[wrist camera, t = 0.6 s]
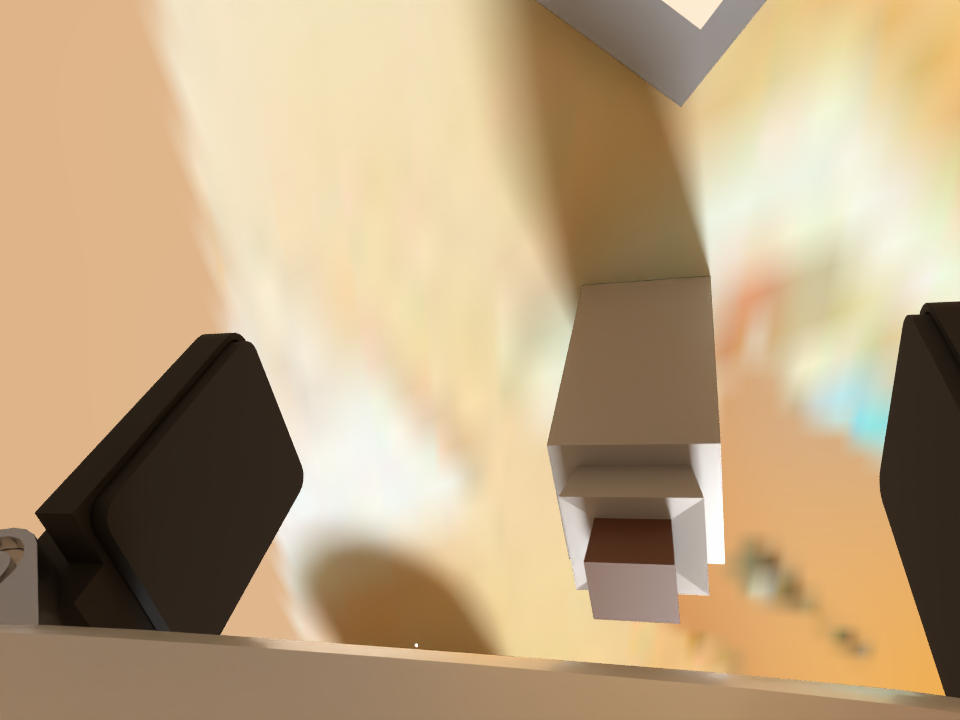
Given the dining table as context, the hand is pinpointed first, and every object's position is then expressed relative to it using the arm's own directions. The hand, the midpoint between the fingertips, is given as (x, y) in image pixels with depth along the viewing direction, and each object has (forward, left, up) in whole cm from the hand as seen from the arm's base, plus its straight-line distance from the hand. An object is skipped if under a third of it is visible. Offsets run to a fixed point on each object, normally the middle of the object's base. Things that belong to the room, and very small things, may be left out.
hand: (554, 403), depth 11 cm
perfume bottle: (+13, +11, -28) cm, 33 cm away
